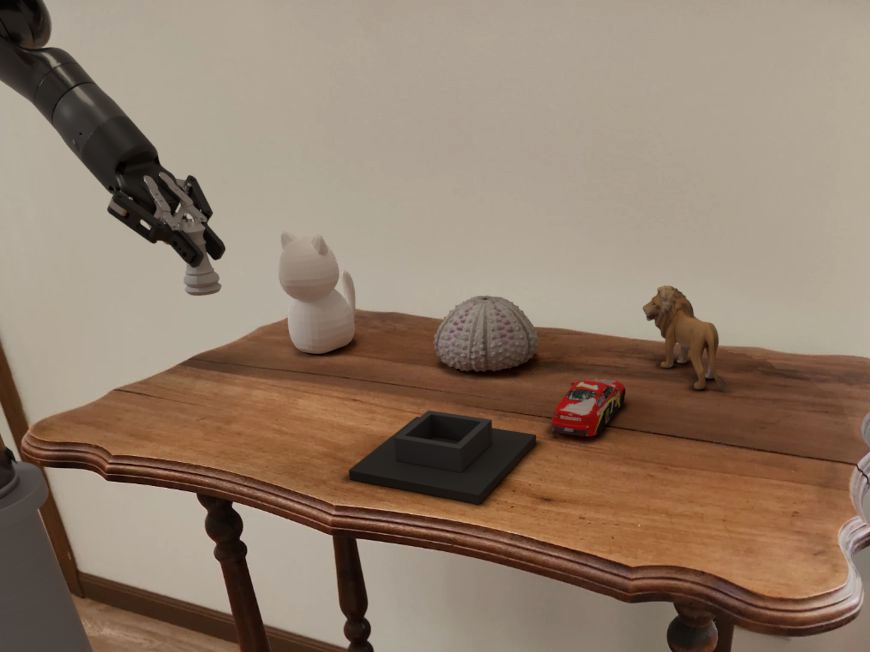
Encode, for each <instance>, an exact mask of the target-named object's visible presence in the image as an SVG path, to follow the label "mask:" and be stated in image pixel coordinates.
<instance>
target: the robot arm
mask: <svg viewBox="0 0 870 652" xmlns="http://www.w3.org/2000/svg"><path fill="white" fill-rule="evenodd" d="M52 30H53V23H52V18H51V14H50V12H49V10H48V7H47V6H46V3H45V2H44V0H0V81H1V82H2V83H3V84H5V85H6V86H7V87H9V88H10V89H12V91H13V90H14V91H15V92H16V93H17V94H19V95H20V96H21V97H23V98H25V99H26V100H27V101H29V102H30V103H31V104H32V105H33V106H34V107H35V108H36V109H37V111H38V112H39V113H40V114H41V116H42V117H44V118H45V120H46V121H47V122H48V123H49V124H50V125H51V126H52V128H53V129H54V130H55V131H56V132H57V133H58V135H59V136H60V137H61V139H62V140H63V142H64V143H65V145H66V146H67V147H68V148H69V149H70V151H71V152H72V153H73V154H74V155H75V156H76V158H78V159H79V161H80V162H81V163H82V165H84V166H85V168H86V169H87V170H88V171H89V172H90V173H91V174H92V176H93V177H94V178H95V179H96V180H97V181H98V182H99V183H100V184H101V185H102V186H103V187H104V189H105V190H106V191H107V192H108V193H109V194H110V195H112V196H111V198H110V201H109V203H108V206H107V208H106V211H107V213H108V214H109V215H111V216H112V217H113V218H115V219H117V221H119V222H121V223H122V224H124V226H126V227H127V228H129V229H130V230H132V231H134V232H135V233H136V234H137V235H139V236H140V237H142V238H143V239H145V240H146V241H148V242H149V243H151V244H153V245H154V244H155V245H156V244H157V243H158V242H162V243H163V244H165V245H167V246H170V247H171V248H172V249H173V250H174V251H175V252H176V254H177V255H179V257H180V258H181V259H182V260H183V261H184V262H185V263H188V264H189V265H190V266H191V267H192V268H195V267H198V266H199V265H200V264H201V262H202V260H203V258H204V254H203V252H202V251H201V250H200V249H199V248H198V246H197V245H196V244H195V243H194V242H193V241H192V240H191V238H190V237H189V236H188V235H187V234H186V233H185V232H184V231H183V230H180V231H179V223H178V221H180V220H185V222H186V223H187V222H188V219H189V218H188V214H189V216H190V217H192V218H191V219H192V221H193V222H194V221H195V220H194V219H200V221H201V224H202V225H203V226H204V227H205V230H204V233H203V239H204V240H205V241H206V244H205V248H206V252H207V255H209V257H210V258H211V259H212V260H213V261H218V260H221V259H222V257H223V256H224V254H225V252H226V251H227V250H226V246H225V244H224V242H223V241H222V239H221V238H220V237H219V236H218V234H217V233H216V232H215V231H214V230H213V229H212V228H211V227H210V225H209V221H210V219H211V218H212V216H214V212H213V210H212V207H211V205H210V203H209V202H208V199H207V197H206V196H205V193H204V191H203V189H202V187H201V185H200V184H199V181H198V180H197V178H196V177H195V175H192V174H189V175H187V177H186V179H181V178H176V177H175V175H174V174H173V173H172V172H171V171H169V170H167V169H166V168H165V167H164V166H162V164H161V161H160V157H159V152H158V149H157V148H156V146H154V144H153V143H152V142H151V141H150V140H149V138H148V137H147V136H146V134H145V133H143V131H141V129H140V128H139V127H138V126H137V125H136V123H135V122H134V121H133V120H132V119H131V118H130V117H129V116H128V115H127V114H126V112H125V111H124V110H123V109H122V108H121V106H119V104H118V103H117V102H116V101H115V100H114V99H113V98H112V97H111V96H109V95H108V94H107V93H106V92H105V91H104V90H103V89H102V88H101V87H100V86H99V85H98V83H96V81H95V80H94V79H93V78H92V77H91V76H90V74H88V72H87V71H86V70H85V69H84V68H83V67H82V65H81V64H80V63H79V62H78V61H77V59H75V57H74V56H72V54H70V53H69V52H68V51H66V50H64V49H63V48H60V47H54V46H49V47H45V46H47V45H48V43H49V42H50V39H51V36H52V33H53V32H52ZM179 205H180V207H179ZM178 208H179V209H178ZM177 210H178V211H177ZM142 222H144V223H145V224H146V225H147V226H148V227H149V228H147V227H146V226H145V225H143V224H142ZM12 461H14V462H15V463H16V464H17V462H16V461H17V460H16V457H15V454H14V451H13V450H12V449H11V448H9V447H8V446H6V444H5V441H4V438H3V436H2V433H0V498H2V497H4V496H6V495H7V494H9V493H10V492H11V491H13V490H14V489H15V488H16V486H17V485H18V483H19V476H18V473H17V471H16V469H15V468H14V466H13V464H12ZM17 465H18V464H17Z"/></svg>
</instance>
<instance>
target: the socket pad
mask: <svg viewBox="0 0 870 652" xmlns="http://www.w3.org/2000/svg"><path fill="white" fill-rule="evenodd" d="M536 444H537V434H534V433H528V432H521V431H515V430H509V429H508V430H507V429H502V428H495V427H493V420H492V419H490V418H483V417H476V416H470V415H464V414H457V413H450V412H443V411H436V410H429V409H428V410H427V411H425V412H424V413H423V414H421V415H420V416H415V417H414V418H413V419H412V420H411V421H409V422H408V423H406V424H405V425H403V426H402V427H401V428H400V429H399V430H397V431H396V432H395V433H394V434H393V435H391V436H390V437H389V438H387V439H386V440H385V441H384V442H382V443H381V444H380V445H379V446H377V447H376V448H375V449H373V450H371V452H370V453H369V454H367V455H366V456H364V457H363V458H362V459H361V460H360V461H358V462H357V463H355V465H353V466H352V467H350V468H349V469H348V477H349V480H352V481H359V482H363V483H368V484H374V485H377V486H383V487H389V488H392V489H393V488H394V489H398V490H399V489H400V490H404V491H409V492H414V493H419V494H425V495H430V496H435V497H440V498H445V499H450V500H456V501H460V502H465V503H471V504H475V505H480V504H481V503H482V502H483V501H484V500H485V499H486V498H487V497H488V496H489V495H490V494H491V492H493V490H494V489H495V488H496V487H497V486H498V485H499V484H500V483H501V482H502V480H504V478H505V477H507V476H508V474H509V473H510V472H511V471H512V470H513V469H514V468H515V467H516V465H518V464H519V462H520V461H521V460H522V459H523V458H524V457H525V456H526V455H527V453H529V452H530V450H532V448H533V447H534V446H535V445H536Z"/></svg>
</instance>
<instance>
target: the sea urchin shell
mask: <svg viewBox="0 0 870 652" xmlns="http://www.w3.org/2000/svg"><path fill="white" fill-rule="evenodd" d="M538 334H539V331H537V329H536V327H535V326H534V324H533V323H532V322H531V320H530V319H529V318H528V316H527V315H526V314H525V312H524V310H522V309H520V307H519V305H516V304H515V303H514V302H513V301H511V300H509V299H507V298H504V297H502V296H491V295H477V296H473V297H471V298H468V299H466V300H465V301H462V302H461V303H459V304H455V307H454V308H453V309H452V310H449V311H448V314H447V315H446V316H443V320H442V322H441V323H439V326H438V329H437V330H436V334H434V336H433V338H434V341H433V342H432V344H433V345H434V348H433V350H434V351H435V352H436V356H437V357H438V358H439V359H440V362H442V363H443V364H445V365H447V366H448V368H455V370H460V372H463V371H465V372H469V371H475V372H483V373H484V372H486V371H492V372H496V371H501V370H503V369H504V370H507V369H511V368H513V367H519V366H520V365H522V364H525V363H527V362H528V361H529V360H531V359H532V358H533V357H534V354H536V353H537V349H538V347H539V340H540V339H539V337H538Z"/></svg>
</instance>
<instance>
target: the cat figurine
mask: <svg viewBox="0 0 870 652" xmlns="http://www.w3.org/2000/svg"><path fill="white" fill-rule="evenodd" d="M280 243H281V248H282V252H281V254H280V257H279V262H278V280H279V281H278V282H279V284H280V286H281V288H282V290H283V291H284V292H285V293H286V294H287V295H288V296H289V297H291V298H292V299H291V301H290V303H289V306H288V311H287V327H288V333H289V337H290V341H291V342H292V344H293V345H294V347H295V348H296V349H298V350H299V351H300V352H303V353H308V354H316V355H319V354H326V353H329V352H332V351H334V350H337V349H340V348H343V347H345V346H347V345H348V344H349V343H351V342H352V340H353V339H354V336H355V330H356V325H355V324H356V323H355V317H356V289H355V283H354V280H353V277H352V275H351V273H349V271H348V270H346V269H343V270H341V273H340V268H339V264H338V261H337V258H336V255H335V253H334V252H333V250H332V249H331V247H330V246H328V244H327V243H326V241H325V239H324V237H323V236H322V235H320V234H317V235H315V236H314V237H313V236H300V237H298V236H296V235H294V234H292V233H290V232H287V231H282V232H281V234H280ZM339 279H341V284H342V288H343V294H344V295H342V293H340V291H338V290H337V289H336V286H337V285H338V282H339Z"/></svg>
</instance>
